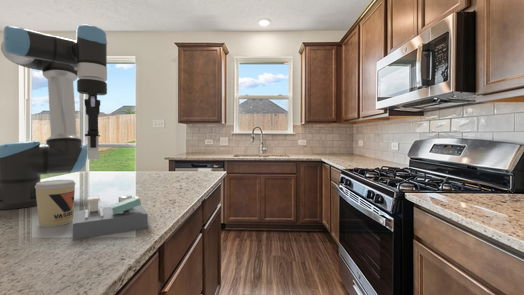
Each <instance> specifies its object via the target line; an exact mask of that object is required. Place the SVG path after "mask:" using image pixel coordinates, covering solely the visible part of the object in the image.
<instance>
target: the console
mask: <svg viewBox="0 0 524 295" xmlns="http://www.w3.org/2000/svg"><path fill="white" fill-rule="evenodd" d="M148 214H149V213H148V212H147V211H146V209H145V208H144V207H143V206H142V204H141V205H139V206H136V207H134V208H131V209H128V210H125V211H122V212H120V213H117V214H113V211H112V208H111V206H109V207H98V211H93V212H90V209H85V210H75V211H74V213H73V220H72V240H73V241H75V240H79V239H86V238H92V237H98V236H106V235H111V234H118V233H124V232H125V233H126V232H129V231H136V230H137V231H138V230H141V229H142V230H143V229H148V225H149V224H148V221H149V220H148V219H149V218H148Z"/></svg>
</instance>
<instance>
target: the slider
mask: <svg viewBox="0 0 524 295" xmlns="http://www.w3.org/2000/svg"><path fill="white" fill-rule="evenodd" d="M99 201H101V197H100V195H99V196H98V195H97V196H88V197H87V203H89V210H90V212H93V211H98V209H99Z"/></svg>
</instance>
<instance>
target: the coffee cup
mask: <svg viewBox="0 0 524 295" xmlns="http://www.w3.org/2000/svg"><path fill="white" fill-rule="evenodd" d="M35 188H36V199H37V205H36V206H37V208H36V210H37V215H38V216H37V217H38V225H39V227H40V228H41V227H42V228H53V227H60V226H64V224H65V225H67V224H70V223H73V219H74V207H75V206H74V205H75V193H76V192H75V191H76V182H75V180H74V179H53V180H43V181H41V182H38V183H36V186H35Z"/></svg>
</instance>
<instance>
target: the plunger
mask: <svg viewBox="0 0 524 295" xmlns="http://www.w3.org/2000/svg"><path fill="white" fill-rule="evenodd" d="M130 198H133V195H120V196H119V197H118V203H119V202H121V201H124V200H127V199H130Z"/></svg>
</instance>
